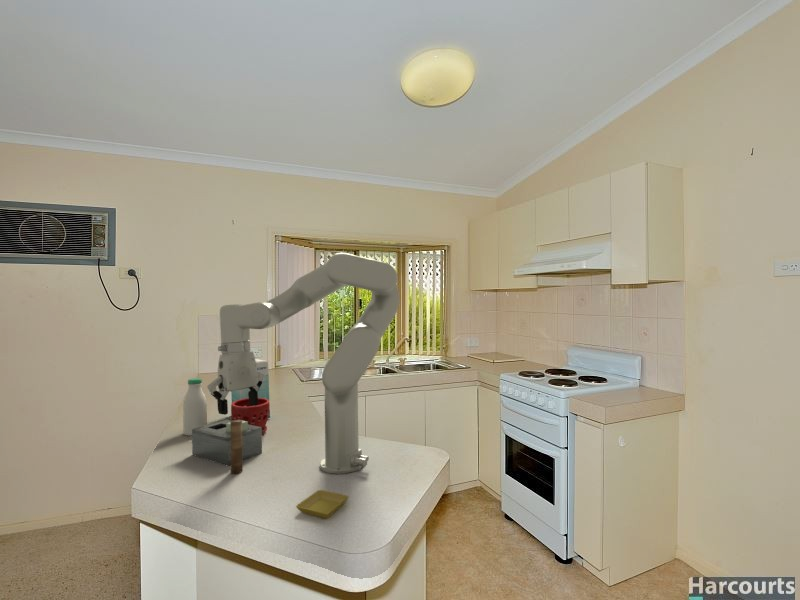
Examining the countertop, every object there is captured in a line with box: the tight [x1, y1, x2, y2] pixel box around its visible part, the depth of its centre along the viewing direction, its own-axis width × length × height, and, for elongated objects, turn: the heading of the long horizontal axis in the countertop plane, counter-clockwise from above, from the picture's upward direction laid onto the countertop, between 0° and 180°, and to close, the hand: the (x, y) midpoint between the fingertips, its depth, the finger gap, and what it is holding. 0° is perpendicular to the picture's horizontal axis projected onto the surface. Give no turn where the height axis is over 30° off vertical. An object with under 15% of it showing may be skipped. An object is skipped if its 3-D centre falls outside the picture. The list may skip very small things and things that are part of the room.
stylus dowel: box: [230, 420, 243, 475], centre depth 109 cm, size 3×3×14 cm
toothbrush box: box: [230, 358, 271, 419], centre depth 166 cm, size 18×10×24 cm, turn 41°
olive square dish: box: [295, 489, 350, 519], centre depth 88 cm, size 9×9×2 cm
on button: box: [226, 421, 248, 433], centre depth 121 cm, size 4×4×5 cm
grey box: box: [191, 419, 263, 467], centre depth 123 cm, size 18×12×8 cm, turn 58°
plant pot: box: [230, 398, 270, 435], centre depth 143 cm, size 13×13×12 cm
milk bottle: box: [182, 377, 208, 437], centre depth 146 cm, size 8×8×20 cm
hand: (238, 409), depth 110 cm, fingers open, 9 cm apart
